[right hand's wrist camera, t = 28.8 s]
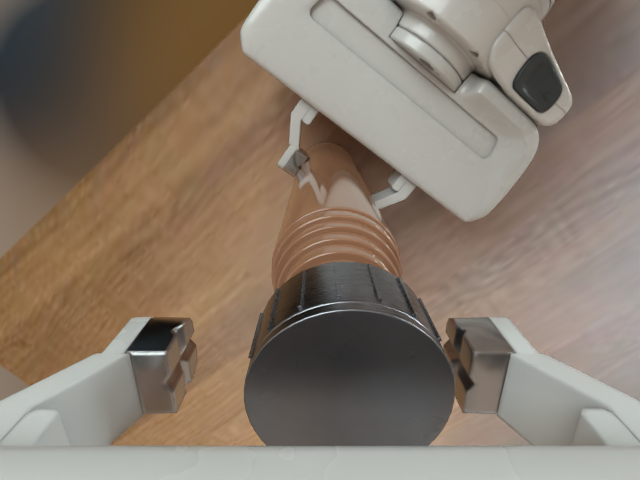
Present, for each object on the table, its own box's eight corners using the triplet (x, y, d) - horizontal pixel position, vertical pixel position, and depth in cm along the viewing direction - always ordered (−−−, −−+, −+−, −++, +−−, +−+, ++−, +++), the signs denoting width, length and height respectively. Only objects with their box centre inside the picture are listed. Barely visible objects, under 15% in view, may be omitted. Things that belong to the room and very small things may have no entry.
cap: (460, 348, 10) (498, 415, 8) (327, 427, 11) (329, 504, 9) (363, 223, 9) (377, 263, 7) (222, 324, 10) (195, 387, 8)
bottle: (365, 171, 32) (494, 380, 9) (325, 208, 34) (340, 482, 10) (327, 129, 31) (355, 238, 7) (287, 169, 32) (197, 375, 9)
